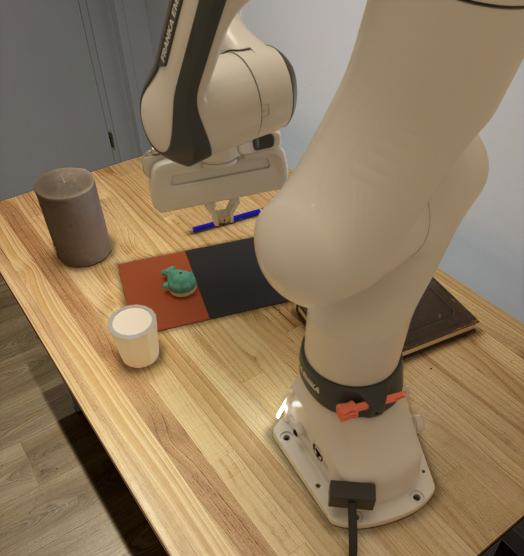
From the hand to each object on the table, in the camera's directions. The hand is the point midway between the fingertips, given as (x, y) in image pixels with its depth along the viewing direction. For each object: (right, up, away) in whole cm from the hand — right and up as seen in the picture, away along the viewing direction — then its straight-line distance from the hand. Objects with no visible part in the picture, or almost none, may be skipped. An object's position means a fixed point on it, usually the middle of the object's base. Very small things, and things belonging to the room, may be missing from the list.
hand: (223, 222), depth 85 cm
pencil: (0, +5, +20) cm, 20 cm away
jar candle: (-12, -20, -2) cm, 24 cm away
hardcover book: (+25, -15, +2) cm, 30 cm away
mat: (-3, -8, +9) cm, 12 cm away
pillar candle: (-26, -2, +14) cm, 30 cm away
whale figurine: (-8, -9, +8) cm, 14 cm away
